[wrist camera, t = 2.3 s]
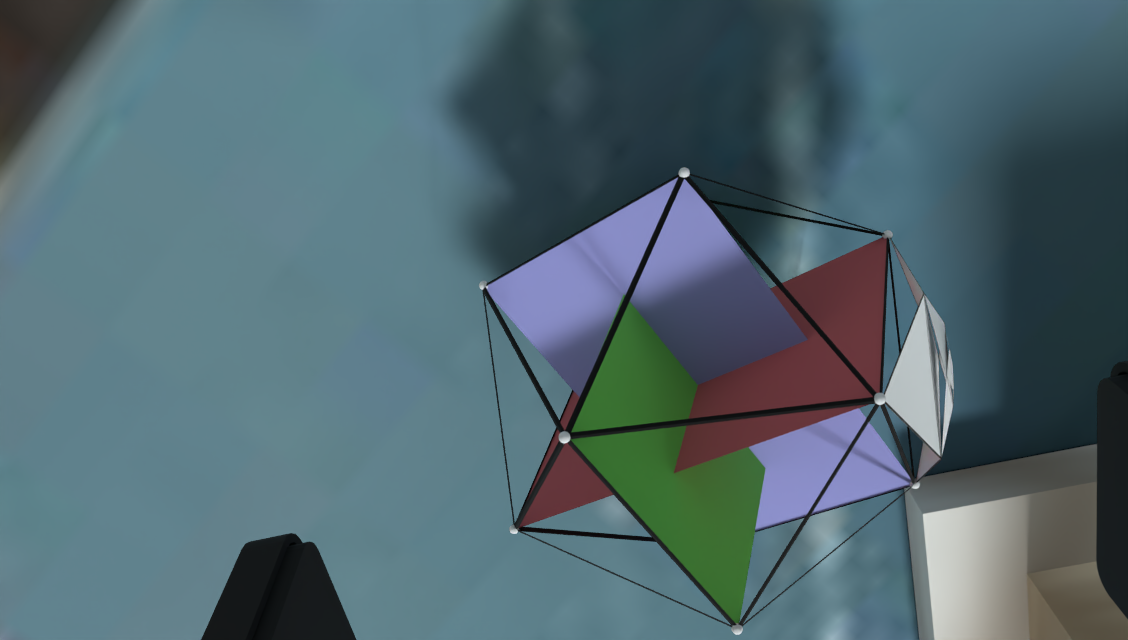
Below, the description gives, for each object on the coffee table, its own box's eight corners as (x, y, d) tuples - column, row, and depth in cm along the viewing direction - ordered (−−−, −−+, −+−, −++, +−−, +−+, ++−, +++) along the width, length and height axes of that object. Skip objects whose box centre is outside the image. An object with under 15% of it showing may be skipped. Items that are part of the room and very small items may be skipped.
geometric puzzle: (570, 622, 19) (875, 790, 12) (335, 384, 17) (542, 422, 10) (768, 368, 22) (1115, 386, 15) (585, 132, 19) (892, 20, 12)
